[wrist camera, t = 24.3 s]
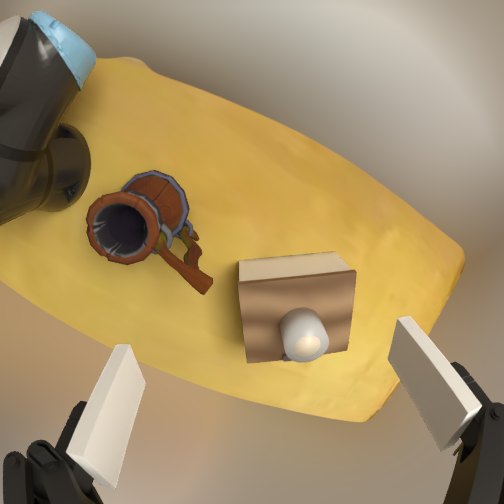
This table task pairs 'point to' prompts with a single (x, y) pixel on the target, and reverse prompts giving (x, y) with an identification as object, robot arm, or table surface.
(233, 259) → the table surface
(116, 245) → the mug
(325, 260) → the box
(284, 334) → the grey squat drum
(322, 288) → the lid
